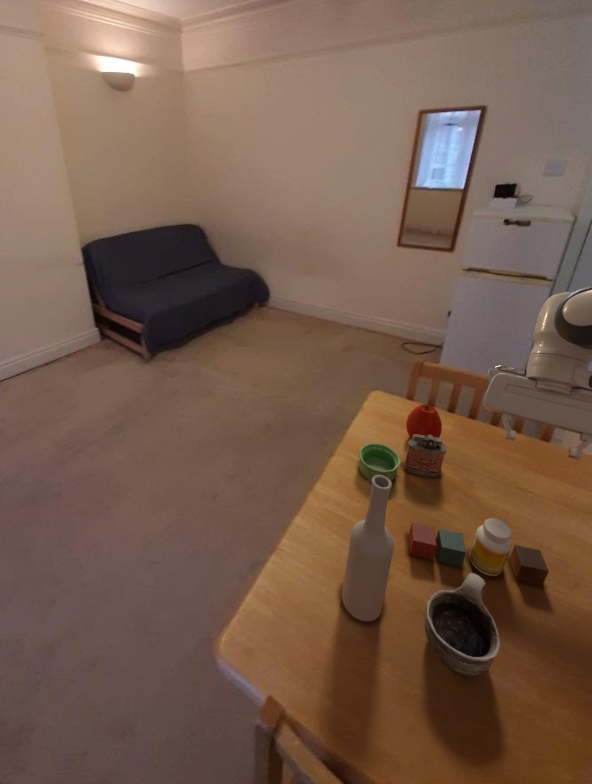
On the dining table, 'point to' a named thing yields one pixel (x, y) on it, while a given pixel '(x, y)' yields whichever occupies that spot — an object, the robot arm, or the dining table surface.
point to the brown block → (528, 565)
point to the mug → (462, 628)
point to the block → (450, 547)
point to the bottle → (369, 557)
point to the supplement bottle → (491, 547)
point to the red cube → (422, 541)
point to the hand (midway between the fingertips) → (540, 448)
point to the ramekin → (378, 461)
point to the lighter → (425, 455)
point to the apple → (424, 421)
